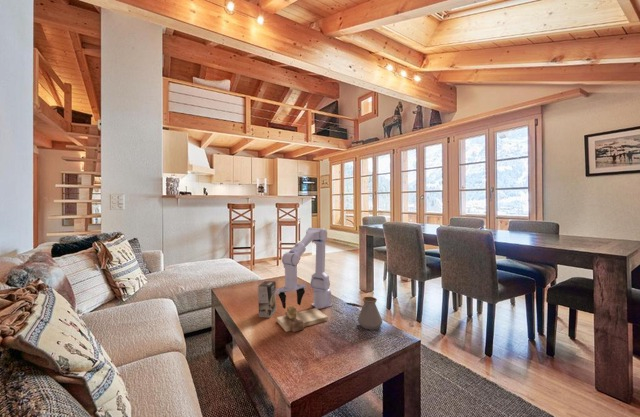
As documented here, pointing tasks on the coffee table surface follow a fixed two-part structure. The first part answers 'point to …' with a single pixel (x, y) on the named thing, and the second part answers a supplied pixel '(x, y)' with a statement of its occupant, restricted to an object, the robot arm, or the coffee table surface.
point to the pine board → (303, 318)
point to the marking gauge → (294, 319)
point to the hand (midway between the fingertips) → (291, 306)
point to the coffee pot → (368, 314)
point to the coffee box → (267, 298)
